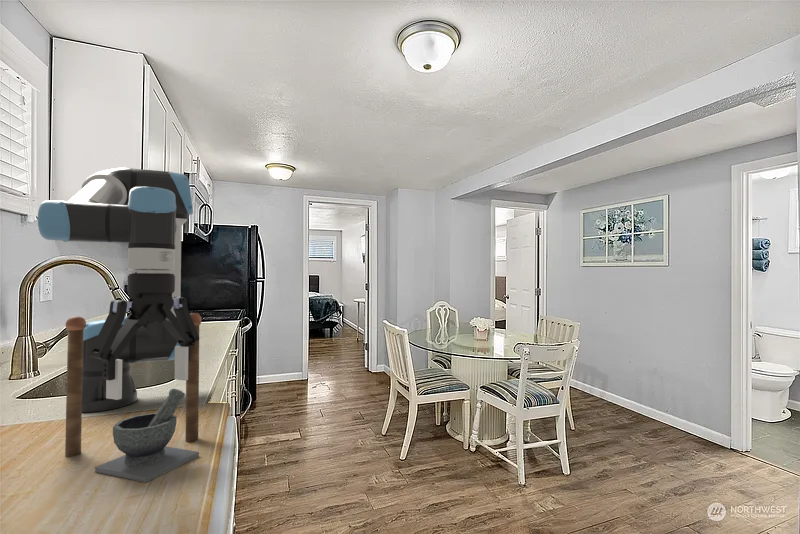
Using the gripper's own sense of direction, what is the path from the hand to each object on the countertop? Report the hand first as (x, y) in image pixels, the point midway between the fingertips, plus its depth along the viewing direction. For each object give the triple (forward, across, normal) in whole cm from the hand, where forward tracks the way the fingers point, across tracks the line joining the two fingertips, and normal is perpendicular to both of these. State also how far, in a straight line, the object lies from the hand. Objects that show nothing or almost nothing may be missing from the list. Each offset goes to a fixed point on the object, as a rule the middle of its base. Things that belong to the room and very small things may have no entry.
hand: (150, 388), depth 77 cm
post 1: (+14, -2, +18) cm, 22 cm away
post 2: (+14, +11, +2) cm, 18 cm away
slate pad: (+13, 0, 0) cm, 13 cm away
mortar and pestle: (+13, 0, 0) cm, 13 cm away
